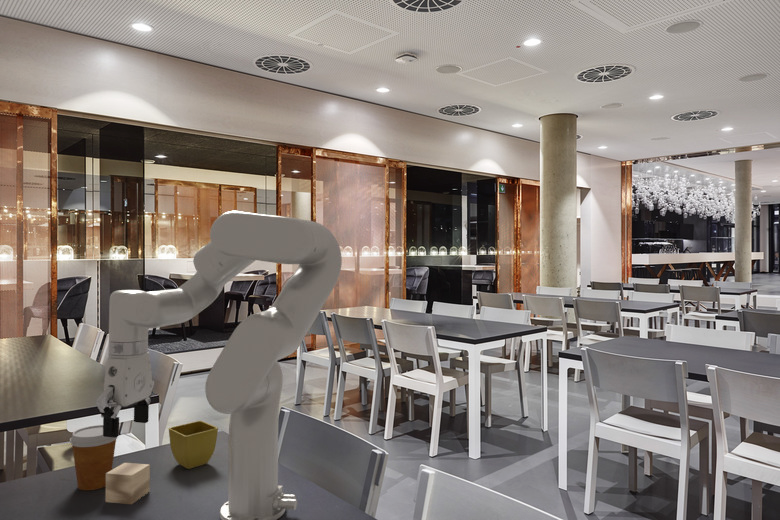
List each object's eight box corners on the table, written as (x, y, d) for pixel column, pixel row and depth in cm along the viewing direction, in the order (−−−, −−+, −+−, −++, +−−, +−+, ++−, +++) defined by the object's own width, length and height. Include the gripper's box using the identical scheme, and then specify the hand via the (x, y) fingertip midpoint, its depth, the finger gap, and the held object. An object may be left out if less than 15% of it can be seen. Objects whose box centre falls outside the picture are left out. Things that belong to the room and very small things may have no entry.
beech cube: (149, 492, 115) (149, 464, 115) (131, 504, 110) (131, 475, 110) (124, 490, 116) (124, 462, 116) (105, 502, 111) (105, 473, 111)
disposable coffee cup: (59, 488, 117) (60, 433, 117) (101, 473, 125) (101, 421, 125) (86, 497, 112) (87, 440, 112) (127, 481, 121) (128, 428, 121)
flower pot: (218, 464, 131) (219, 427, 131) (185, 474, 125) (185, 436, 125) (200, 455, 137) (200, 420, 137) (167, 464, 131) (167, 428, 131)
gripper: (116, 356, 104) (114, 444, 104) (168, 343, 121) (166, 418, 121) (82, 354, 105) (80, 441, 105) (138, 341, 122) (136, 416, 122)
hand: (126, 429), depth 113 cm, fingers open, 9 cm apart
